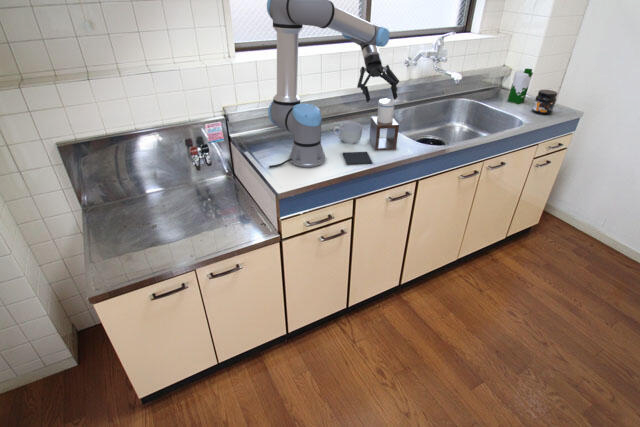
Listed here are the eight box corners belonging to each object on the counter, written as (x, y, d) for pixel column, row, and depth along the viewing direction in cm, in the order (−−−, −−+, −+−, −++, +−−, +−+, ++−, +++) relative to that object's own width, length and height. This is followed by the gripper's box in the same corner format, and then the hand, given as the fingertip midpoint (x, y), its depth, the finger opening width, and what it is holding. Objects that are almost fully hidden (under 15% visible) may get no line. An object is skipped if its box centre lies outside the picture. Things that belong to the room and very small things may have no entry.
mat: (347, 165, 165) (347, 163, 164) (342, 154, 174) (342, 152, 173) (372, 163, 166) (372, 162, 165) (366, 153, 175) (366, 151, 174)
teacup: (361, 137, 190) (362, 122, 186) (361, 146, 181) (362, 130, 177) (333, 136, 191) (333, 120, 187) (331, 145, 182) (332, 129, 178)
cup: (378, 123, 173) (380, 103, 168) (375, 118, 179) (376, 98, 174) (394, 123, 174) (397, 103, 169) (390, 117, 180) (392, 98, 175)
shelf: (374, 150, 177) (377, 125, 171) (369, 140, 187) (371, 116, 181) (395, 149, 178) (399, 124, 172) (389, 139, 188) (391, 115, 182)
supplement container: (528, 112, 225) (534, 91, 218) (536, 108, 231) (542, 88, 224) (547, 116, 218) (554, 95, 211) (554, 112, 224) (561, 92, 217)
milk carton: (519, 104, 236) (529, 71, 225) (505, 101, 242) (514, 68, 231) (526, 102, 241) (536, 68, 230) (512, 98, 247) (521, 66, 236)
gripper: (392, 61, 186) (403, 101, 182) (344, 64, 180) (354, 105, 176) (399, 51, 179) (410, 93, 175) (349, 54, 173) (359, 97, 169)
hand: (382, 99), depth 175 cm, fingers open, 13 cm apart
